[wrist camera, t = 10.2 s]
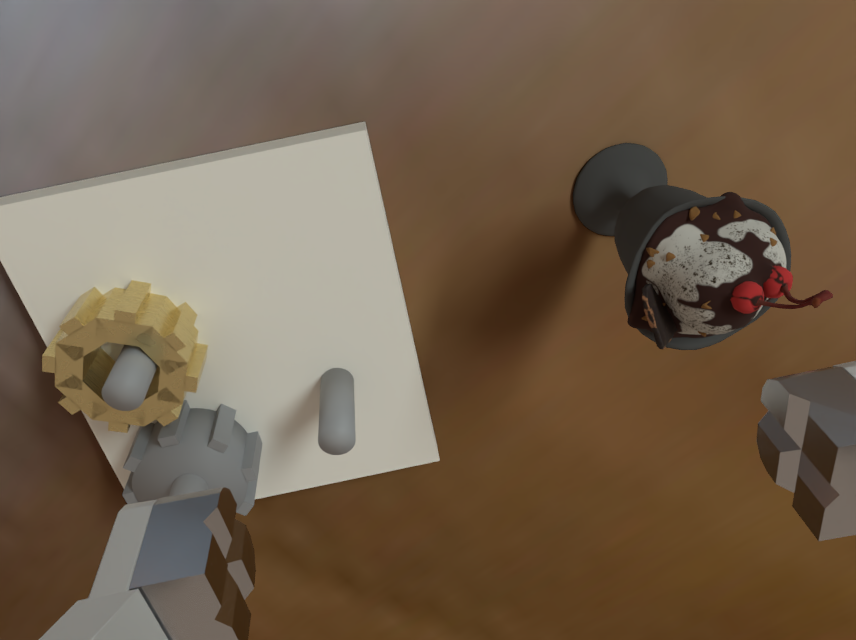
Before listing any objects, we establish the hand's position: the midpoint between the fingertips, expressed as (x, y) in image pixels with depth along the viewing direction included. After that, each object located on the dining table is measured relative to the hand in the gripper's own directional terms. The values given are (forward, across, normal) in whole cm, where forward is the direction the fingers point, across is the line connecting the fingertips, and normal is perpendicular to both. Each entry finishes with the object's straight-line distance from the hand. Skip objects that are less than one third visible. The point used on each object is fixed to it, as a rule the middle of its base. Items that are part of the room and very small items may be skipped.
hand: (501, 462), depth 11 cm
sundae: (+25, -11, +8) cm, 28 cm away
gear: (+24, +15, +10) cm, 30 cm away
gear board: (+25, +10, +12) cm, 30 cm away
